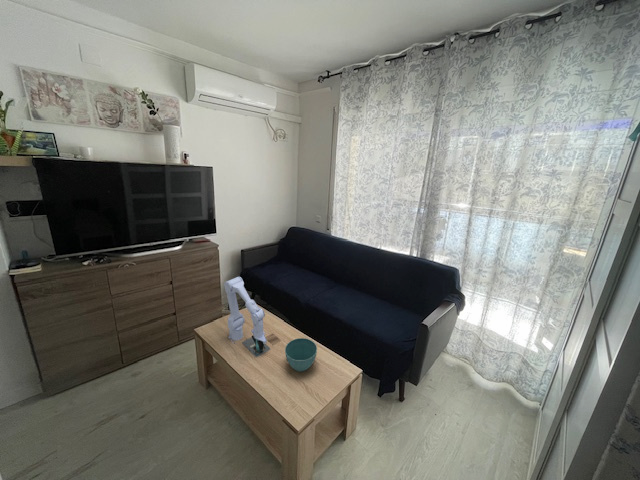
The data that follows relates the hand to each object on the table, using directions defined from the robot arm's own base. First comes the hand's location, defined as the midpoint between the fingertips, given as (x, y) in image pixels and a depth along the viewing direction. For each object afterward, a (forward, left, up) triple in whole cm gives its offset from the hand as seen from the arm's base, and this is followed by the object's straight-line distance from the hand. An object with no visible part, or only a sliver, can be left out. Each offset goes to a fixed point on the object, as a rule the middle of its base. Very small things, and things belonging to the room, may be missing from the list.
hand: (259, 347), depth 153 cm
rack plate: (-4, 0, -3) cm, 5 cm away
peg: (0, 0, -2) cm, 2 cm away
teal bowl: (+27, +12, -3) cm, 29 cm away
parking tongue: (-2, +12, -3) cm, 12 cm away
